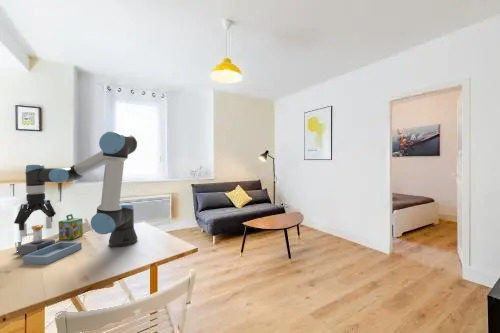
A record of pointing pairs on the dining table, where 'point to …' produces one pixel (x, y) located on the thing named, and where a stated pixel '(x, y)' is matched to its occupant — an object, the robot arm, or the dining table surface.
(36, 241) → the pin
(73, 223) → the green lunch box
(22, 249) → the hitch block
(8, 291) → the dining table surface
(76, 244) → the tray
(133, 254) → the dining table surface
